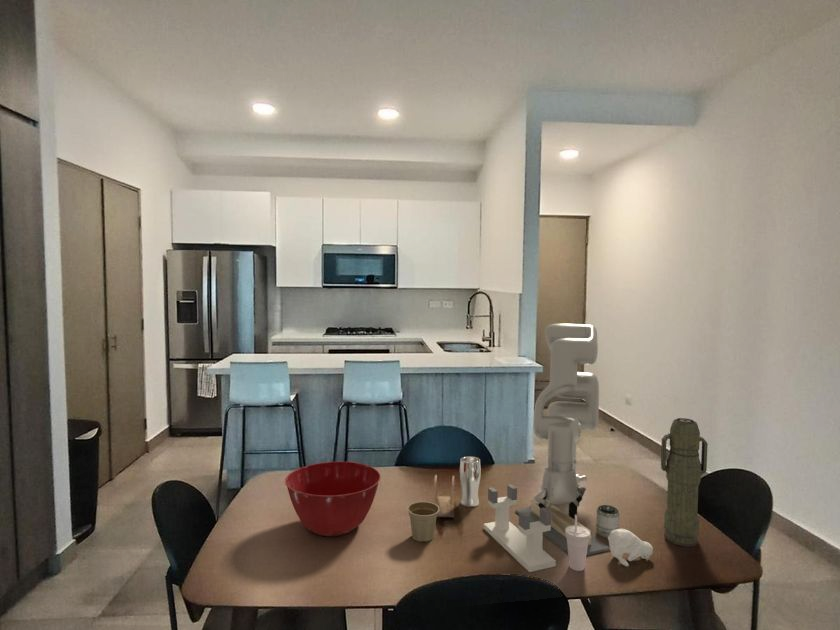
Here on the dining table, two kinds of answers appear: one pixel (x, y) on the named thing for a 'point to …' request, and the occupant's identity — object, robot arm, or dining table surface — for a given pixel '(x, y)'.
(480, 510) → the dining table surface
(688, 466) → the thermos
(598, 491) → the dining table surface
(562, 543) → the mat
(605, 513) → the camera lens
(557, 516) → the rail
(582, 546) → the smoothie
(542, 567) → the hook stand
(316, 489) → the mixing bowl
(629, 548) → the white animal figurine
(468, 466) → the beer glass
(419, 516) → the flower pot
